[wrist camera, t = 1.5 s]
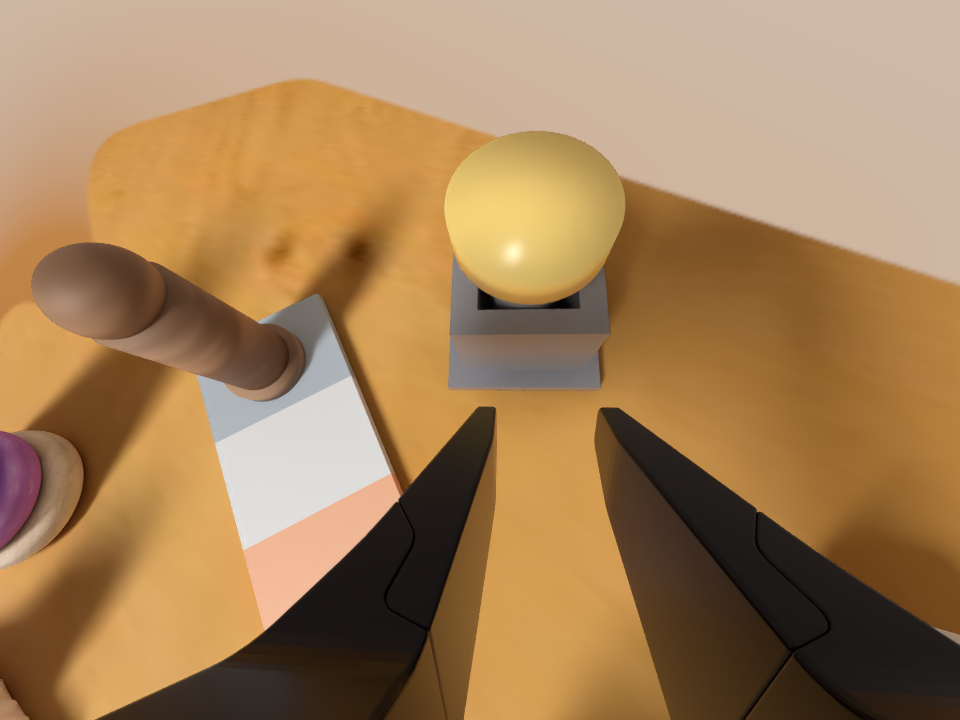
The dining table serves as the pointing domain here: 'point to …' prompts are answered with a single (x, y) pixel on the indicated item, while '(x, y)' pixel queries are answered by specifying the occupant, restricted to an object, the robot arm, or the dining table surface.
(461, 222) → the dome button
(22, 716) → the seated beast figurine
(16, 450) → the stacking toy
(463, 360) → the box
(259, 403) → the game board
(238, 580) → the dining table surface
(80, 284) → the brown round-topped post
